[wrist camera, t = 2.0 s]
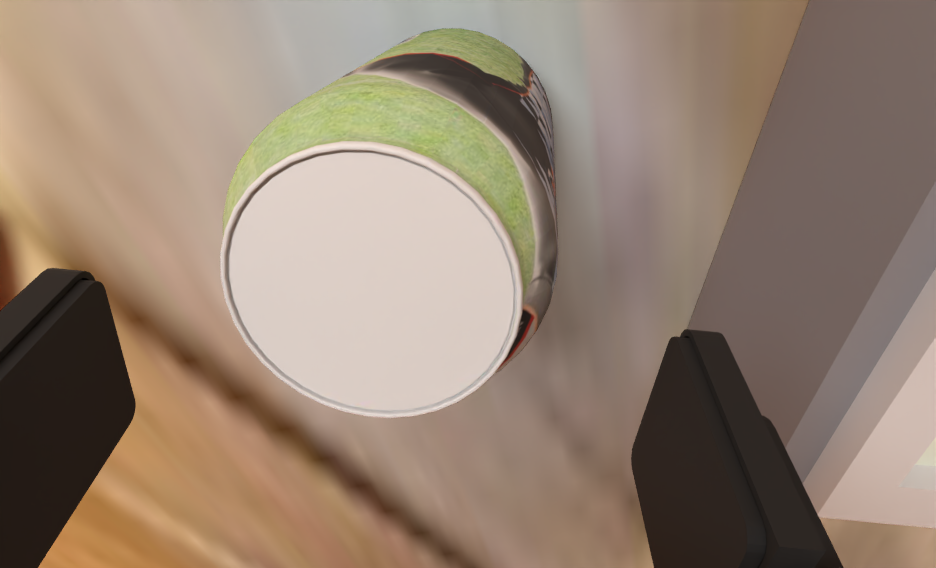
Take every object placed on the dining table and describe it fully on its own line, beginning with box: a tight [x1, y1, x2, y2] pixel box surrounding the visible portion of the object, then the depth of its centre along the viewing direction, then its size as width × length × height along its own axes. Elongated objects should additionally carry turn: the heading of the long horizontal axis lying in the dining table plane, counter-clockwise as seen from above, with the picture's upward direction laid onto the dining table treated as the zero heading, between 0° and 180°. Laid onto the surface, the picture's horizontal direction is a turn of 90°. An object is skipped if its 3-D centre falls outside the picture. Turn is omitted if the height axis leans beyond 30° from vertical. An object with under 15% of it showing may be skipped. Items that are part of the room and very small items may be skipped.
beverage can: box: [220, 29, 558, 418], centre depth 15 cm, size 6×7×12 cm
